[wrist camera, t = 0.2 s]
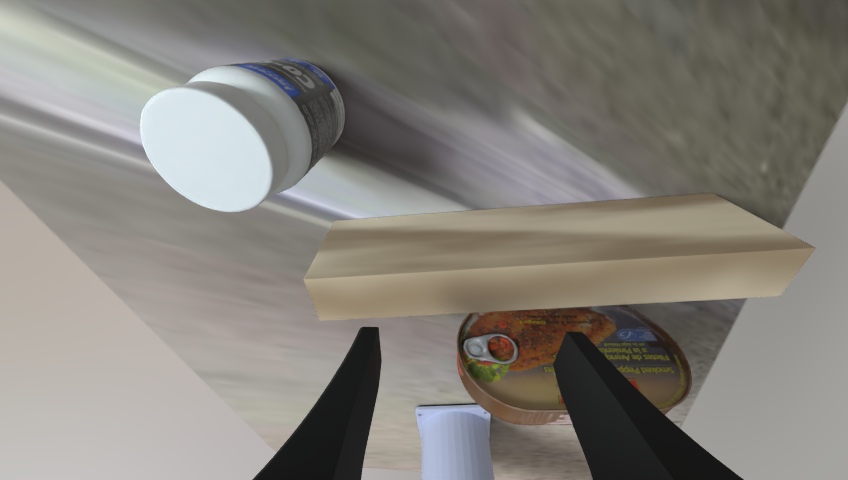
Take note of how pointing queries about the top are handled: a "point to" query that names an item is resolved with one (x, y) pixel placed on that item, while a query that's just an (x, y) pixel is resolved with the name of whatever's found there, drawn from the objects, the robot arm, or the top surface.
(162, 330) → the top surface
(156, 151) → the pill bottle
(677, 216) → the board
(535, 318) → the tin
